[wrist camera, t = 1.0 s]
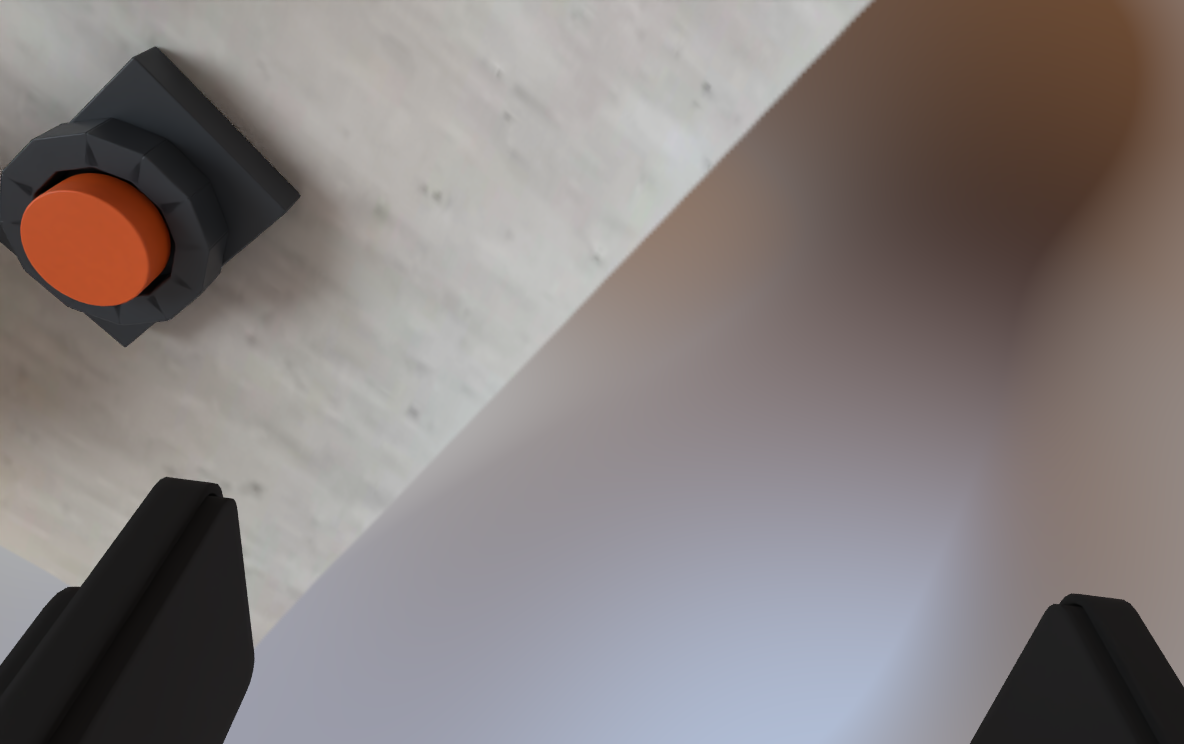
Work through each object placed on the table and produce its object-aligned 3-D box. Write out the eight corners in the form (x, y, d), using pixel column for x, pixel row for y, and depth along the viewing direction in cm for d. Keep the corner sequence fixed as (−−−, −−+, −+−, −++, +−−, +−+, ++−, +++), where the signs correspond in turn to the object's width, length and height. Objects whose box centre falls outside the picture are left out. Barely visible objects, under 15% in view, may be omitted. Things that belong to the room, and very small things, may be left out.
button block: (147, 330, 38) (105, 374, 35) (-3, 201, 35) (-62, 236, 32) (304, 198, 34) (273, 234, 32) (152, 41, 32) (102, 65, 29)
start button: (123, 305, 34) (99, 328, 32) (23, 218, 32) (-6, 238, 31) (196, 242, 32) (175, 262, 31) (95, 147, 31) (67, 164, 29)
